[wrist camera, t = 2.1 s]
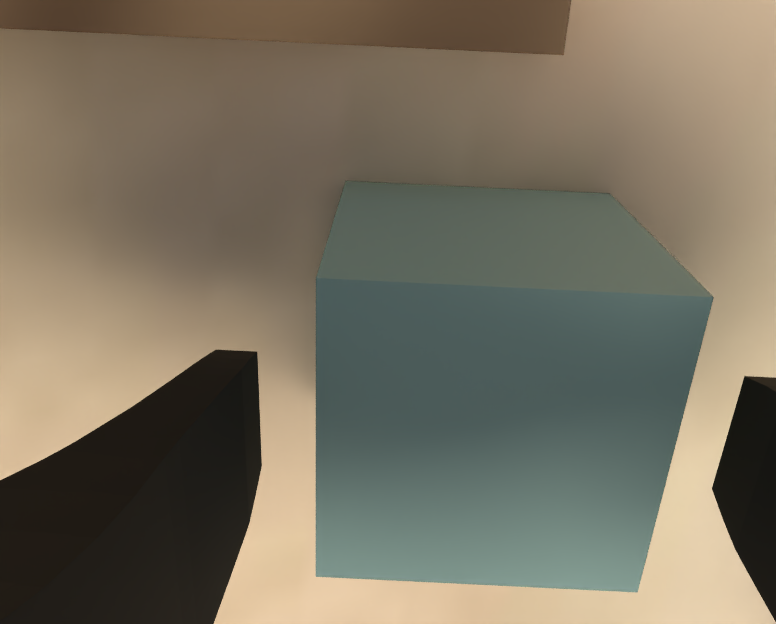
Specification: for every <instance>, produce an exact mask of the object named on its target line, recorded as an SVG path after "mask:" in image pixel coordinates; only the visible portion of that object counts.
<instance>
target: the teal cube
mask: <svg viewBox="0 0 776 624" xmlns="http://www.w3.org/2000/svg"><path fill="white" fill-rule="evenodd" d="M712 301H713V296H712V295H711V294H710V293H709V292H708V291H707V290H706V289H705V288H704V287H703V286H702V285H701V284H700V283H699V282H698V281H697V280H696V279H695V278H694V277H693V276H692V275H691V274H690V273H689V272H688V271H687V270H686V269H685V268H684V267H683V266H682V265H681V264H680V263H679V262H678V261H677V260H676V259H675V258H674V257H673V256H672V255H671V254H670V253H669V252H668V251H667V250H666V249H665V248H664V247H663V246H662V245H661V244H660V243H659V242H658V241H657V240H656V239H655V238H654V237H653V236H652V235H651V234H650V233H649V232H648V231H647V230H646V229H645V228H644V227H643V226H642V225H641V224H640V223H639V222H638V221H637V220H636V219H635V218H634V217H633V216H632V215H631V214H630V213H629V212H628V211H627V210H626V209H625V208H624V207H623V206H622V205H621V204H620V203H619V202H618V201H617V200H616V199H615V198H614V197H613V196H612V195H611V194H609V193H588V192H568V191H547V190H526V189H505V188H484V187H463V186H442V185H422V184H401V183H380V182H359V181H346V182H345V185H344V188H343V191H342V195H341V198H340V201H339V205H338V208H337V211H336V214H335V218H334V221H333V224H332V227H331V231H330V234H329V237H328V240H327V244H326V247H325V250H324V253H323V257H322V260H321V263H320V267H319V270H318V273H317V276H316V577H335V578H355V579H376V580H396V581H416V582H437V583H457V584H478V585H498V586H519V587H539V588H560V589H580V590H600V591H621V592H638V588H639V584H640V580H641V576H642V573H643V569H644V565H645V561H646V557H647V553H648V549H649V545H650V542H651V538H652V534H653V530H654V526H655V522H656V518H657V514H658V511H659V507H660V503H661V499H662V495H663V491H664V487H665V483H666V480H667V476H668V472H669V468H670V464H671V460H672V456H673V452H674V449H675V445H676V441H677V437H678V433H679V429H680V425H681V421H682V418H683V414H684V410H685V406H686V402H687V398H688V394H689V390H690V387H691V383H692V379H693V375H694V371H695V367H696V363H697V359H698V356H699V352H700V348H701V344H702V340H703V336H704V332H705V328H706V325H707V321H708V317H709V313H710V309H711V305H712Z"/></svg>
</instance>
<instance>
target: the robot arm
mask: <svg viewBox="0 0 776 624" xmlns="http://www.w3.org/2000/svg"><path fill="white" fill-rule="evenodd" d="M261 466H262V463H261V437H260V410H259V384H258V358H257V352H251V351H231V350H215V351H213V352H212V353H210V354H208V355H207V356H205V357H204V358H202V359H201V360H199V361H198V362H196V363H195V364H193V365H192V366H191V367H189V368H188V369H186V370H185V371H184V372H182V373H181V374H179V375H178V376H176V377H175V378H174V379H172V380H171V381H169V382H168V383H166V384H165V385H163V386H162V387H161V388H159V389H158V390H156V391H155V392H153V393H152V394H150V395H149V396H147V397H146V398H144V399H143V400H142V401H140V402H139V403H137V404H136V405H134V406H133V407H131V408H130V409H128V410H126V411H125V412H123V413H121V414H120V415H118V416H117V417H115V418H113V419H112V420H110V421H108V422H107V423H105V424H104V425H102V426H100V427H99V428H97V429H95V430H94V431H92V432H90V433H89V434H87V435H86V436H84V437H82V438H81V439H79V440H77V441H76V442H74V443H72V444H70V445H69V446H67V447H65V448H63V449H62V450H60V451H58V452H56V453H54V454H52V455H50V456H48V457H47V458H45V459H43V460H41V461H39V462H37V463H35V464H33V465H31V466H29V467H27V468H25V469H23V470H21V471H19V472H17V473H15V474H13V475H11V476H9V477H6V478H4V479H2V480H0V624H213V623H214V621H215V618H216V615H217V612H218V610H219V607H220V604H221V601H222V599H223V596H224V593H225V590H226V587H227V585H228V582H229V579H230V576H231V574H232V571H233V568H234V565H235V562H236V560H237V557H238V554H239V551H240V548H241V546H242V543H243V540H244V537H245V534H246V531H247V528H248V525H249V522H250V517H251V513H252V509H253V504H254V500H255V495H256V490H257V486H258V481H259V476H260V471H261ZM712 490H713V493H714V495H715V498H716V501H717V504H718V507H719V509H720V512H721V515H722V518H723V520H724V523H725V525H726V528H727V530H728V533H729V535H730V538H731V540H732V542H733V545H734V547H735V549H736V551H737V553H738V555H739V557H740V559H741V561H742V563H743V564H744V566H745V568H746V570H747V572H748V573H749V575H750V577H751V579H752V581H753V582H754V584H755V586H756V588H757V590H758V591H759V593H760V595H761V597H762V599H763V600H764V602H765V604H766V606H767V607H768V609H769V611H770V613H771V614H772V616H773V618H774V620H775V621H776V378H769V377H749V376H745V377H744V380H743V384H742V387H741V391H740V394H739V397H738V401H737V404H736V408H735V411H734V415H733V418H732V422H731V425H730V428H729V432H728V435H727V439H726V442H725V446H724V449H723V453H722V456H721V459H720V463H719V466H718V470H717V473H716V477H715V480H714V483H713V487H712Z"/></svg>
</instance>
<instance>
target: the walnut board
mask: <svg viewBox="0 0 776 624" xmlns="http://www.w3.org/2000/svg"><path fill="white" fill-rule="evenodd" d="M570 4H571V0H0V28H6V29H27V30H48V31H69V32H90V33H111V34H132V35H153V36H174V37H195V38H216V39H237V40H258V41H279V42H300V43H321V44H343V45H364V46H385V47H406V48H427V49H448V50H469V51H490V52H511V53H532V54H553V55H564V48H565V40H566V33H567V26H568V19H569V11H570Z"/></svg>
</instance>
